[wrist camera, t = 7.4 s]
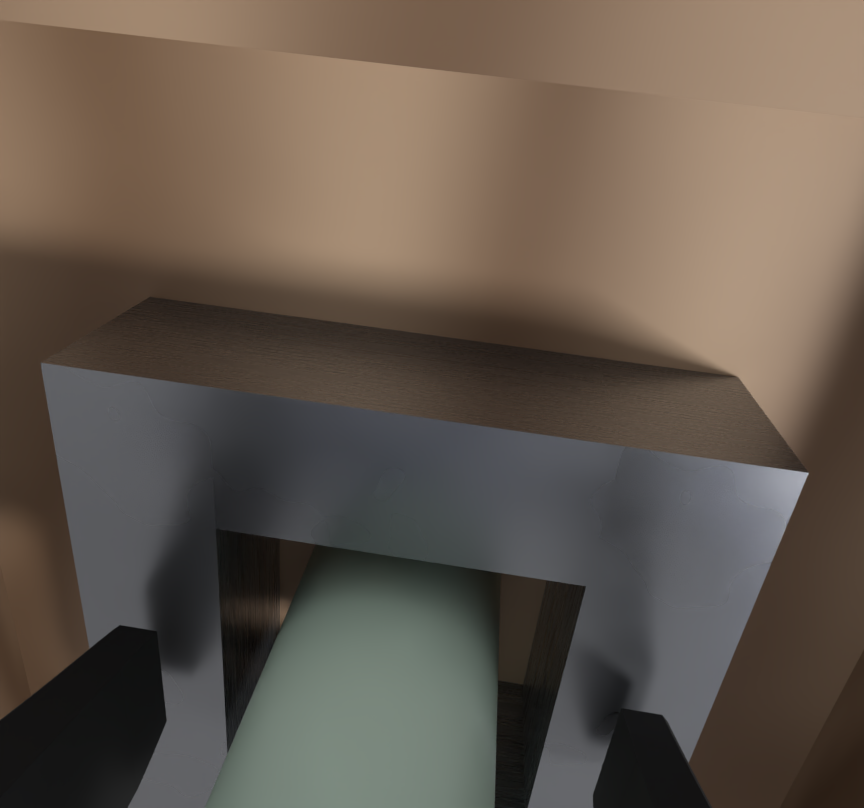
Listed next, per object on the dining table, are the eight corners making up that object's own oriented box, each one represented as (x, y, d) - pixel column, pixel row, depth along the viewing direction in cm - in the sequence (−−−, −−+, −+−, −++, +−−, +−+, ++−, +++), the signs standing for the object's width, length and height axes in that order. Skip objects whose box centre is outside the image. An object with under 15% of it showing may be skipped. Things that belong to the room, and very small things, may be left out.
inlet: (738, 376, 11) (809, 473, 8) (606, 771, 16) (625, 916, 13) (150, 296, 12) (40, 363, 9) (185, 699, 16) (119, 824, 13)
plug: (513, 507, 13) (512, 873, 7) (488, 653, 14) (471, 1047, 9) (314, 480, 13) (151, 814, 7) (313, 628, 15) (180, 995, 9)
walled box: (1227, 74, 9) (1609, 73, 6) (753, 912, 18) (803, 1089, 15) (-190, -78, 10) (-508, -147, 7) (30, 782, 19) (-66, 921, 16)
